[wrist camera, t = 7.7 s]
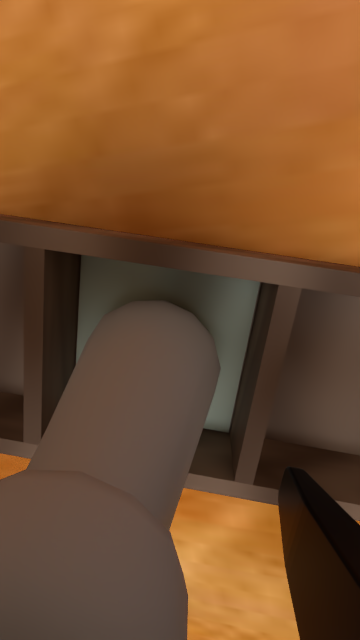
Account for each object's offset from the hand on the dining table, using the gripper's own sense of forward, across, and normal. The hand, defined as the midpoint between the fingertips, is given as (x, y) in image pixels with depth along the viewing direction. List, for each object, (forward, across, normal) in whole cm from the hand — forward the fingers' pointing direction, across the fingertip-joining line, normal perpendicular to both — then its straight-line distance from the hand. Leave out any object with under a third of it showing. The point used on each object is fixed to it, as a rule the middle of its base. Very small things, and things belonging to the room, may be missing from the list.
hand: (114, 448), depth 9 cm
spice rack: (+9, 0, 0) cm, 9 cm away
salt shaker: (+8, 0, 0) cm, 8 cm away
